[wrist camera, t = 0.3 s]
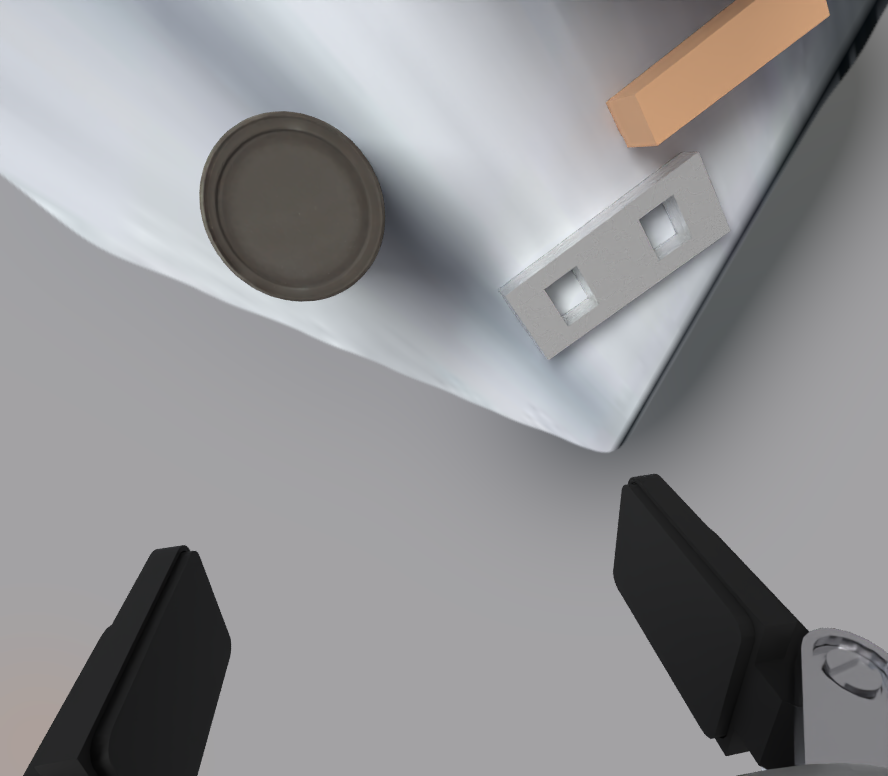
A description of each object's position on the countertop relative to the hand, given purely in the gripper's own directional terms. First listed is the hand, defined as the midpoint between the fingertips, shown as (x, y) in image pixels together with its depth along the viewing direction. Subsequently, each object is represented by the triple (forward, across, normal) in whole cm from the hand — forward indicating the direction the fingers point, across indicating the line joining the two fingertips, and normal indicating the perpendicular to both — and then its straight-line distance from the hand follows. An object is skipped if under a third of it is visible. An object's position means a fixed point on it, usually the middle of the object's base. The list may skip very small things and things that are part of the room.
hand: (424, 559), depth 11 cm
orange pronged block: (+36, -26, -13) cm, 47 cm away
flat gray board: (+36, -21, +2) cm, 42 cm away
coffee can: (+36, +4, -6) cm, 37 cm away
